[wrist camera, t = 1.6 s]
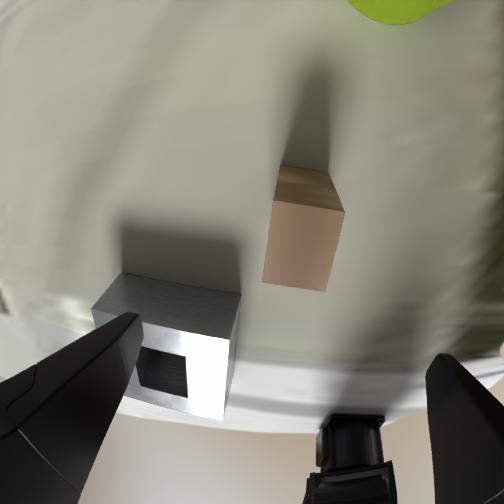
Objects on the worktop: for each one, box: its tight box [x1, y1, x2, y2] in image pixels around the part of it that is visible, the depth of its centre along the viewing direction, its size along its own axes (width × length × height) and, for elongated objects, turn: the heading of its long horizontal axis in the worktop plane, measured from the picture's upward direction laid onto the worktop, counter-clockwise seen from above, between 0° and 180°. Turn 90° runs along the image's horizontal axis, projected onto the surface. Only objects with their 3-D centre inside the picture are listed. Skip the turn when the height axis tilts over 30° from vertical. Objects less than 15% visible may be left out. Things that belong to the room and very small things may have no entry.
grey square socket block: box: [91, 273, 241, 420], centre depth 24 cm, size 10×10×5 cm
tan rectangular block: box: [262, 165, 345, 292], centre depth 17 cm, size 3×4×7 cm
